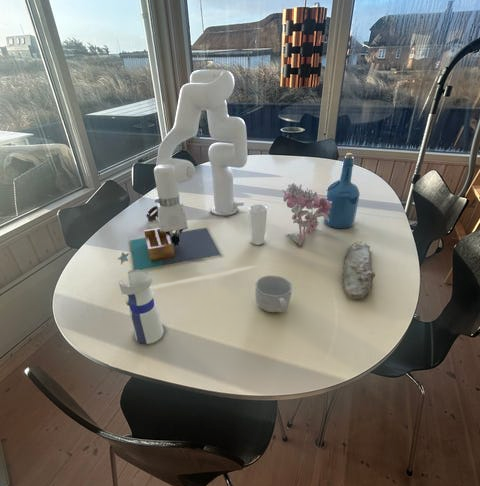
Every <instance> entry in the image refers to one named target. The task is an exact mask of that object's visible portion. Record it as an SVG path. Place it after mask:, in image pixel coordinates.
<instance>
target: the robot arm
mask: <svg viewBox="0 0 480 486" xmlns="http://www.w3.org/2000/svg"><path fill="white" fill-rule="evenodd" d="M235 83H236V82H235V77H234V74H233V73H232V72H230V71H229V70H226V69H198V70H194V71H193V72H191V74H190V76H189V82H188V83H185V84H183V85H182V87H180V90H179V95H178V101H177V107H176V113H175V118H174V123H173V127H172V128H171V129H170V131H168V133H166V135H165V136H164V138H163V140H161V142H160V145H159V146H158V150H157V156H156V162H155V165H156V166H155V167H154V168H153V176H154V180H155V186H156V192H157V193H156V194H157V197H156V198H154V203H156V204H157V206H158V217H157V219H158V223H159V224H158V225H159V228H160V233H167V234H168V235H170V236H171V240H172V243H174V245H175V246H176V244H177V245H179V243H178V242H180V239H179V235H180V233H181V232H184V231H186V230H188V228H189V227H188V221H187V215H186V210H185V206H184V203H183V202H182V201H181V199H180V190H179V184H182V183H186V182H189V181H190V180H192V179H193V178H194V175H195V174H196V168H195V165H194V164H193V163H192V162H191V161H190V160H187V159H181V158H176V157H175V158H174V157H173V153H174V151H175V149H176V148H177V147H178V146H179V145H180V144H182V143H183V142H185V141H187V140H190V139H191V138H193V137H195V136H196V135H197V134H198V131H199V126H200V120H201V115H202V111H206V118H207V125H208V133H209V136H210V137H211V139H213V140H214V141H219V142H214V143H212V144H211V145H210V146H209V147H208V152H207V155H208V161H209V165H210V169H211V177H212V191H213V206H212V207H211V208H210V209H211V212H212V214H213V215H215V216H224V217H227V216H232V215H234V214H236V213H237V212H238V207H241V206H244V204H245V203H244V201H240V200H235V197H234V196H235V195H234V174H233V171H232V169H231V168H236V169H237V168H238V169H239V168H243V167H245V166H246V164H247V162H248V157H249V156H248V155H249V153H248V134H247V125H246V123H245V122H246V121H244V119H243V118H241V117H239V116H231V115H229V113H228V112H229V111H228V103H227V100H228V99H229V98H230V97H231V95H232V94H233V92H234V89H235ZM230 142H231V143H230ZM173 231H175V232H173ZM174 233H175V235H174Z"/></svg>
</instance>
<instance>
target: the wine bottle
mask: <svg viewBox="0 0 480 486" xmlns="http://www.w3.org/2000/svg"><path fill="white" fill-rule="evenodd" d="M354 162H355V157H354V154H353V153H351V152H346V154H345V156H344V158H343V161H342V163H341V166H342V167H341V173H340V178H339V179H338V180H336V181H334V182H333V183H331V184H330V185H329V186H328V187H327V188H326V191H327V192H326V197H328V198H327V200H328V201H332V204H331V206H332V207H331V209H329V208H328V209H329V211H330V213H329V215H328V216H327V217H328V218H329V222H328V220H326V219H325V218H324V217H323V222H324V224H326V225H327V226H328V227H330V228H331V227H332V228H334V229H347V228H351V226H353V225H354V224H355V220H356V216H357V211H358V204H359V200H360V195H361V194H360V190H359V187H358V186H357V185H356V184H354V183H352V175H353V167H354V165H355V164H354ZM327 200H325V201H327Z"/></svg>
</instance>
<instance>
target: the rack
mask: <svg viewBox="0 0 480 486" xmlns="http://www.w3.org/2000/svg"><path fill="white" fill-rule="evenodd" d="M143 232H144V238H146V242H147V247H148V251H149V256H150V260H151V262H153V261H159V260H164V259H169V258H174V257H175V255H174V248H173V244H172V243H171V240H170V237H169V235H168V234H167V233H160V227H156V228H151V229H144V230H143Z"/></svg>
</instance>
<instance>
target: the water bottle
mask: <svg viewBox="0 0 480 486" xmlns="http://www.w3.org/2000/svg"><path fill="white" fill-rule="evenodd" d="M129 255H130V253H129V252H128V253H124V251H122V252H121V255H120V256H119V257H118V258H117V260H119V261H120V265H123V264H124V263H125V262H129V259H128V257H129ZM127 276H128V283H129V285H127V284H126V283H125V282H124V281H123V280H122V279H118V285H119V290H120V292H121V294H122V295H126V296H125V304H126V305H127V306H128V307H129V317H130V320H131V324H132V328H133V332H134V337H135V340H136V342H138V343H140V344H143V345H149V344H153V343H156V342H157V341H159V340H160V339H161V338H162V337H163V335H164V332H165V331H164V327H163V324H162V320H161V317H160V312H159V309H158V306H157V304H156V302H155V300H154V297H155V293H154V291H153V289H151V285H152V284H153V282H154V278H153V276H152V275H151V274H150V272H149V271H148V270H145V269H143V270H134V269H132V270H129V271H128V272H127Z"/></svg>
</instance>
